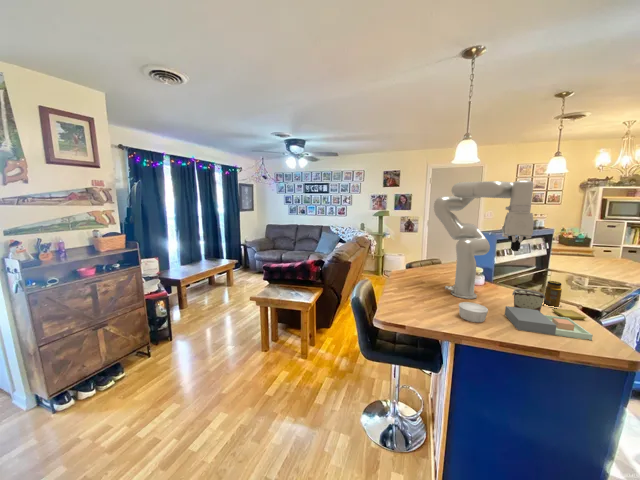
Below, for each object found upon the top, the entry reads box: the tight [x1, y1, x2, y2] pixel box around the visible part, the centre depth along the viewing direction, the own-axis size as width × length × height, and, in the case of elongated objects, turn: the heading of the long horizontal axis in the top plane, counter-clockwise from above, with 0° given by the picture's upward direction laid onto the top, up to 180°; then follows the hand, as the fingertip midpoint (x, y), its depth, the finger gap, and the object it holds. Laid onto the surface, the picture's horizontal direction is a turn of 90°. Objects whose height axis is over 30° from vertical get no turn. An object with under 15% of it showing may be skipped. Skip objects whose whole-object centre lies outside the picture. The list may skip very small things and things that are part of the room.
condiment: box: [543, 280, 563, 307], centre depth 132 cm, size 7×8×12 cm
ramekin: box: [458, 301, 489, 323], centre depth 115 cm, size 11×11×5 cm
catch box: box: [544, 314, 593, 341], centre depth 107 cm, size 11×16×2 cm
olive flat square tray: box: [551, 308, 587, 320], centre depth 120 cm, size 9×9×2 cm
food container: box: [511, 288, 545, 312], centre depth 124 cm, size 12×6×10 cm, turn 71°
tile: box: [552, 318, 575, 331], centre depth 107 cm, size 5×5×2 cm
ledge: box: [504, 305, 556, 336], centre depth 110 cm, size 12×16×4 cm
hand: (514, 250), depth 118 cm, fingers closed
